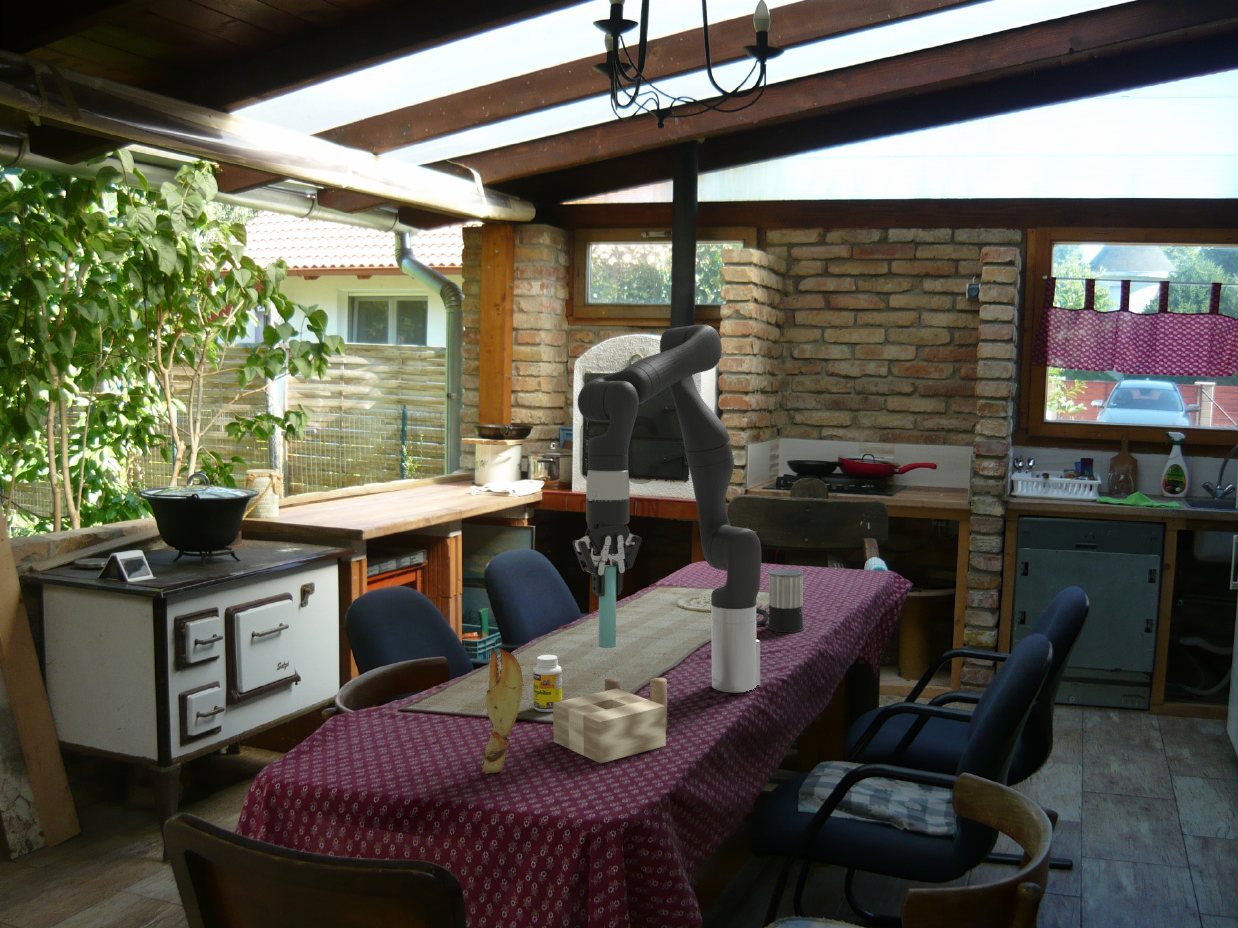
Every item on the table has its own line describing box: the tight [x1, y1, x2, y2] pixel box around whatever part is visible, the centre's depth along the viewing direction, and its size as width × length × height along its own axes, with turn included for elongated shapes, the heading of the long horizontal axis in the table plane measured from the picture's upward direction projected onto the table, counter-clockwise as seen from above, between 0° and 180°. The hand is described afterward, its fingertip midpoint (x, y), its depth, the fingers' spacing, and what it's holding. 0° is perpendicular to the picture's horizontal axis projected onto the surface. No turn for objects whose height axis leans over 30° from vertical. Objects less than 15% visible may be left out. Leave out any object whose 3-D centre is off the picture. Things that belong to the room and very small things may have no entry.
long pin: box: [598, 564, 617, 649], centre depth 188 cm, size 3×3×14 cm
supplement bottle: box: [532, 654, 563, 713], centre depth 208 cm, size 6×6×10 cm
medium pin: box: [649, 677, 668, 731], centre depth 195 cm, size 3×3×9 cm
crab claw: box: [481, 648, 524, 775], centre depth 174 cm, size 7×5×20 cm
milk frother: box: [756, 568, 805, 634], centre depth 276 cm, size 14×16×15 cm
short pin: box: [604, 677, 622, 691], centre depth 207 cm, size 3×3×6 cm
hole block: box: [552, 689, 667, 764], centre depth 187 cm, size 14×14×7 cm
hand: (607, 594), depth 187 cm, fingers closed on long pin, 3 cm apart
